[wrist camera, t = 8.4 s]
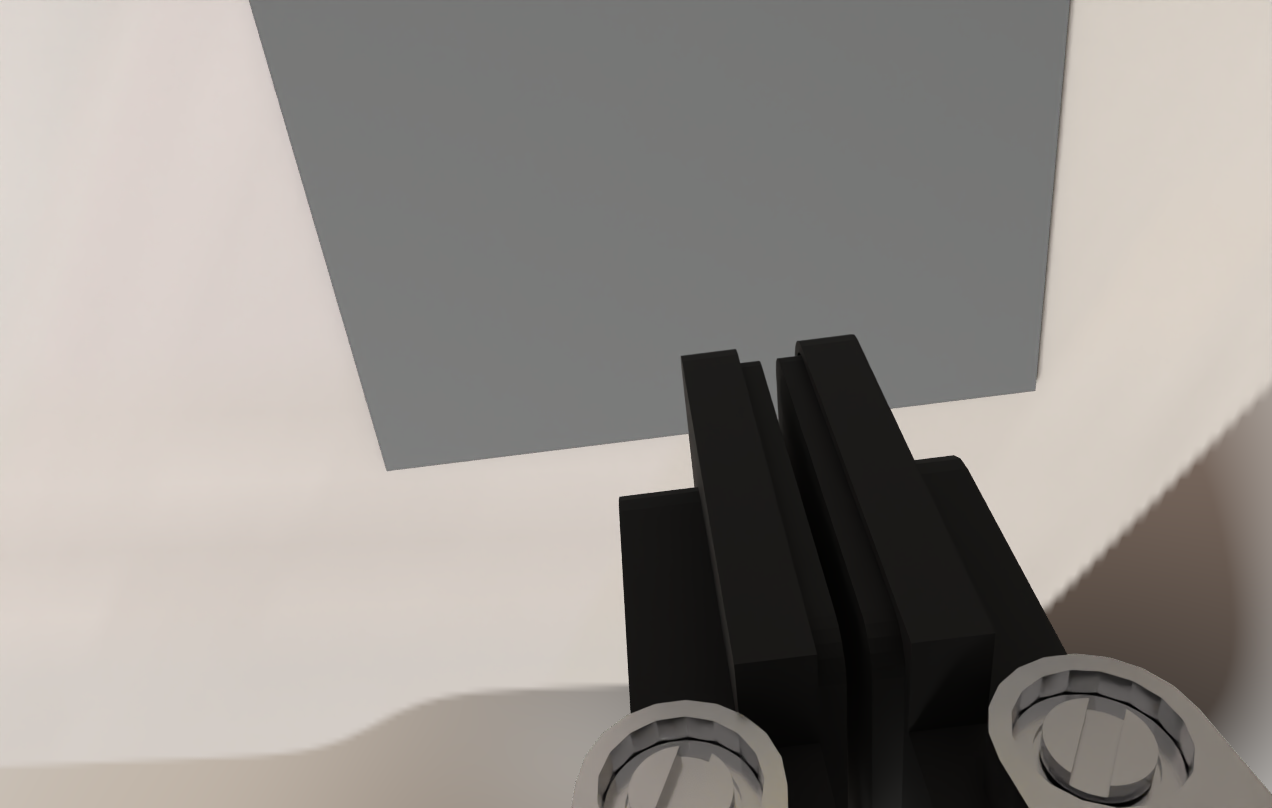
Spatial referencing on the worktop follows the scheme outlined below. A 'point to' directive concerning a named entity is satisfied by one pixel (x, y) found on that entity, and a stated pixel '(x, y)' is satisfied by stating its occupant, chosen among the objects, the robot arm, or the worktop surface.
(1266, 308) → the worktop surface
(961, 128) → the t mat
